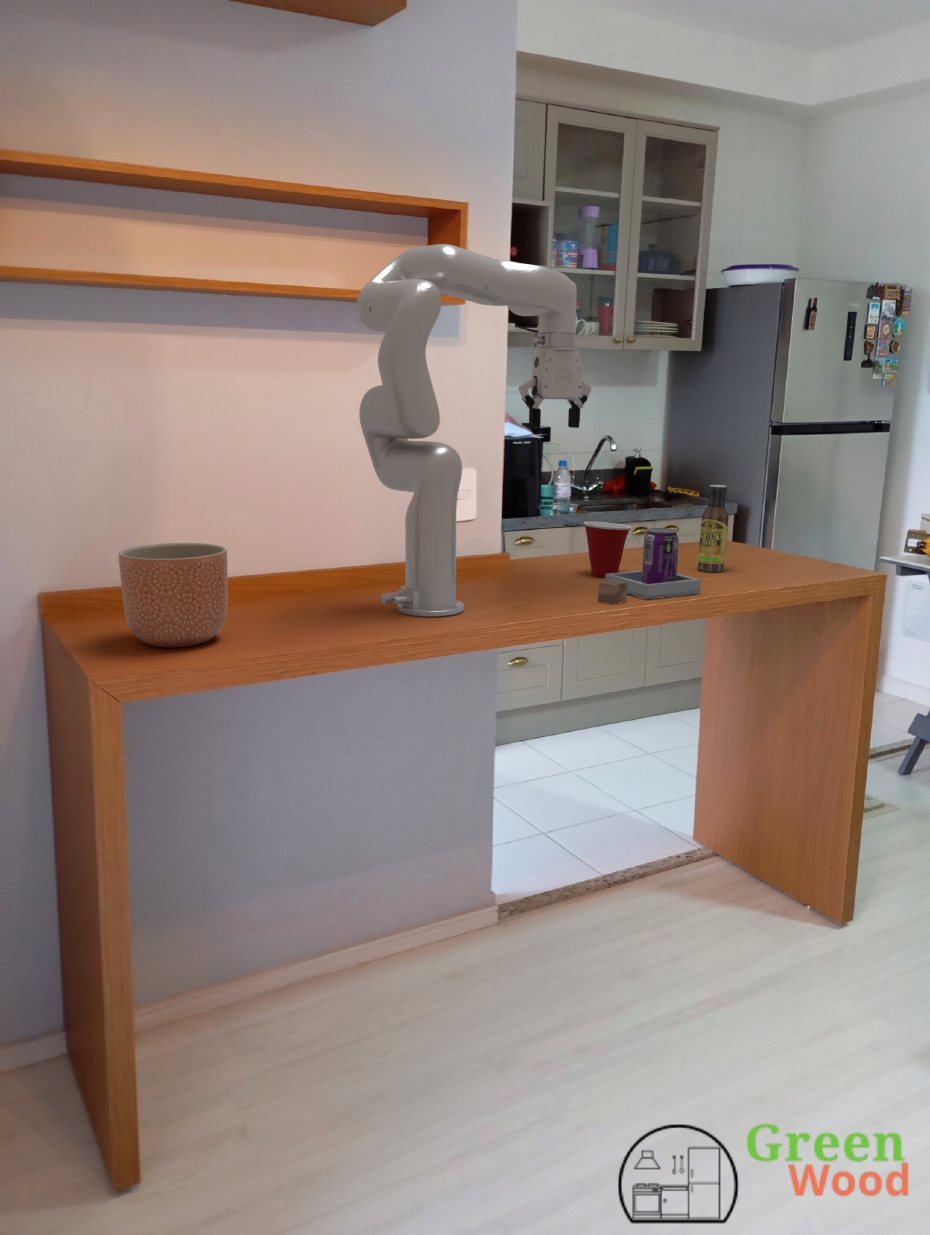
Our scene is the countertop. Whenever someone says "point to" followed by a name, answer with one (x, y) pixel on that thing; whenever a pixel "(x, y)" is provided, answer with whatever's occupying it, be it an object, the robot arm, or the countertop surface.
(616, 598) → the walnut block
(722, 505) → the sauce bottle
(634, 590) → the tray
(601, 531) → the plastic cup
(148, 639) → the planter
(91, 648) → the countertop surface
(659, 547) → the beverage can
